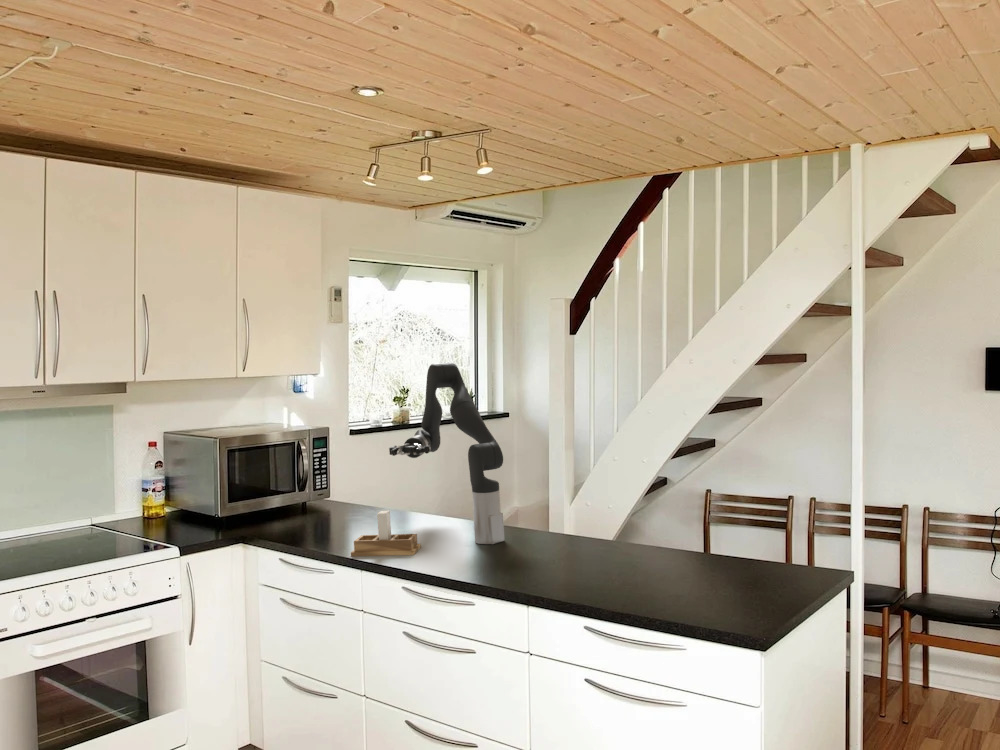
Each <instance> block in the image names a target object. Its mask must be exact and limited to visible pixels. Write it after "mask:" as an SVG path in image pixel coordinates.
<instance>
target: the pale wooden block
mask: <svg viewBox="0 0 1000 750" xmlns="http://www.w3.org/2000/svg"><path fill="white" fill-rule="evenodd" d="M376 516H377V531H378V532H377V533H378V535H379V540H390V539H391V534H392V525H391V511H390V510H389V509H388V510H380V511H378V513H377V514H376Z"/></svg>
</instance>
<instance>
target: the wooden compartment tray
mask: <svg viewBox="0 0 1000 750" xmlns="http://www.w3.org/2000/svg"><path fill="white" fill-rule="evenodd" d="M421 548H422V543H418V534H417V533H403V534H402V533H396V534H395V533H393V534H392V533H391V539H390V540H379V534H362V535H360V536H359V537H357V538H356V539H355V540H353V550H351V552H350V557H370V556H371V557H374V556H375V557H376V556H378V557H379V556H414V555H415V554H416V553H417V552H418V551H419V550H420V549H421Z"/></svg>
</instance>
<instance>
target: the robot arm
mask: <svg viewBox="0 0 1000 750" xmlns="http://www.w3.org/2000/svg"><path fill="white" fill-rule="evenodd" d="M426 374H427V375H426V386H425V403H424V404H425V406H424V410H423V415H422V419H421V424H420V425H421V429H418V430H417V431H416V432H415V434H414V435H413V436H412V437H409V438H407V439H406V440H405V442H404V443H403V444H401V445H398V446H397V445H393V446H390V447H389V448H388V449H389V455H390V456H394V457H395V456H397V455H399V456H405V455H406V456H407V457H408V458H411V459H417V458H419V457H421V456H423V455H424V454H429V453H435V452H436V451H438V450H439V448H440V446H441V432H440V429H441V427H440V425H441V421H442V418H443V409H442V406H441V404H440V401H439V400H438V397H437V395H436V394H437V390H438V389H443V388H445V389H446V388H450V389H451V390H452V391H453V397H452V400H451V402H450V406H449V412H450V416H451V417H452V418H451V419H452V420H453V422H454V423H455V425H456V427H457V428H458V429H459V430H460V431H461V432H463V433H464V434H465V435H467V436H469V437H470V438H471V439H473V440H475V441H476V442H477V443H474V444H472V445H470V446H469V448H468V451H467V452H468V453H467V459H468V468H469V477H470V478H469V479H470V484H471V485H470V486H471V495H472V510H473V511H472V512H473V513H472V514H473V528H474V529H473V531H474V542H475V544H479V545H494V544H498V543H501V542H504V541H505V529H504V528H505V526H504V525H505V523H504V512H502V511H501V494H500V483H499V481H498V480H496V479H491V478H488V477H486V476H485V473H484V471H485V472H486V471H492V470H493V471H494V470H497V469H499V468H501V467H502V466H503V464H504V454H503V451H502V449H501V447H500V445H499V443H498V442H497V440H496V439H495V438H494V436H493V434H492V432H490V429H488V427H487V425H486V423H485V422H484V420H483V417H482V416H481V414H480V411H479V410H478V408H477V405H476V404H475V402H474V401H473V398H472V397H471V395H470V393H469V392H468V389H467V387H466V385H465V382H464V379H463V377H462V374H461V372H460V370H459V367H458V366H457V364H455V363H454V362H436V363H432V364H430V365H429V367H428V370H427V373H426Z"/></svg>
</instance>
